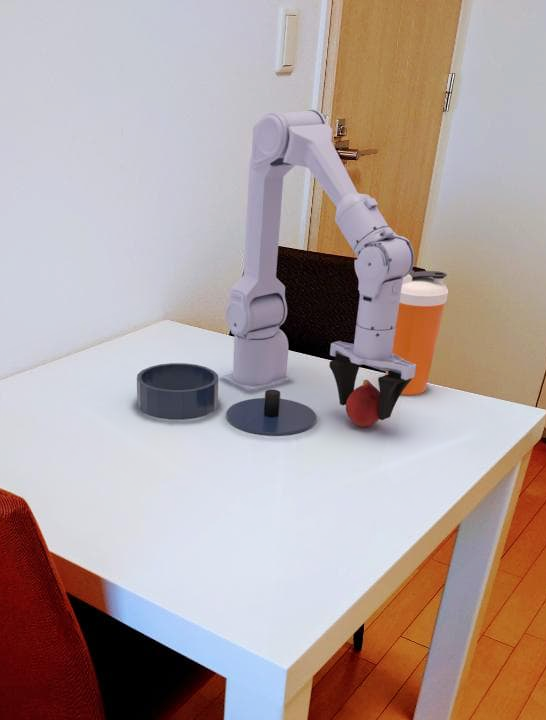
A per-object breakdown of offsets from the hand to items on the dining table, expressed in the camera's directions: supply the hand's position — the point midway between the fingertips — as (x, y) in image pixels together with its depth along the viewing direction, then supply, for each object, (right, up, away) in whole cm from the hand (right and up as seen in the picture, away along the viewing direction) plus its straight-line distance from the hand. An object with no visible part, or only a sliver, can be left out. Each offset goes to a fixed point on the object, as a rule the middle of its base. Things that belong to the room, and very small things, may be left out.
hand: (364, 410), depth 126 cm
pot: (-29, +2, +9) cm, 31 cm away
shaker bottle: (+11, +6, +16) cm, 21 cm away
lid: (-14, 0, +4) cm, 15 cm away
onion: (0, -3, +2) cm, 3 cm away
